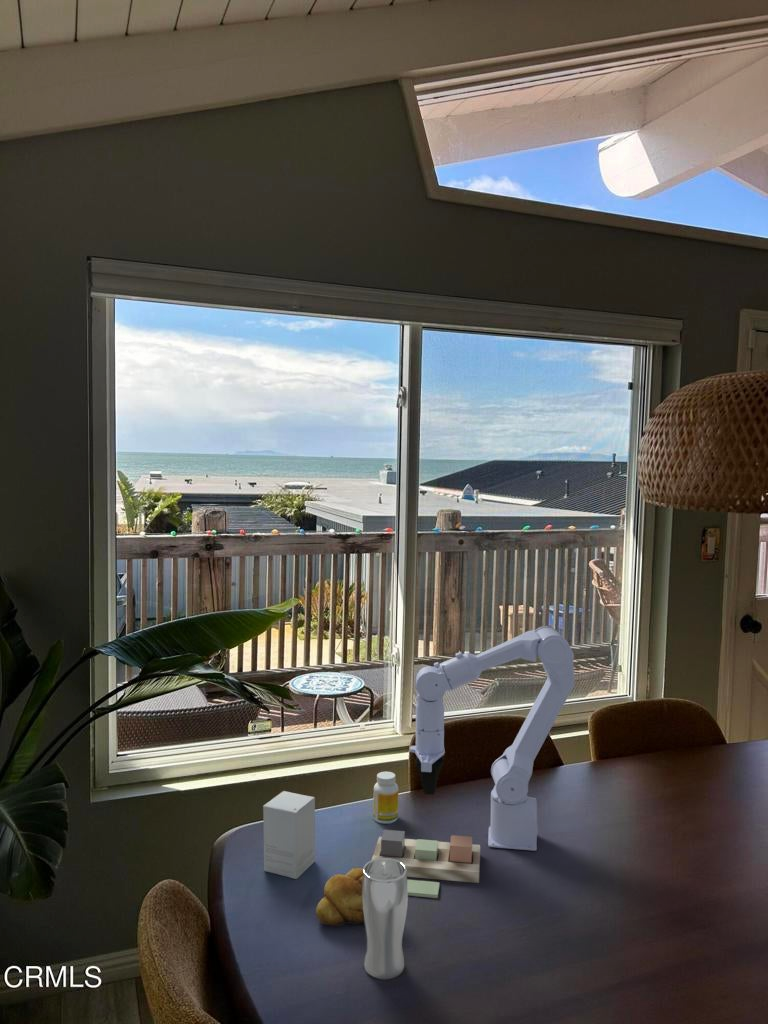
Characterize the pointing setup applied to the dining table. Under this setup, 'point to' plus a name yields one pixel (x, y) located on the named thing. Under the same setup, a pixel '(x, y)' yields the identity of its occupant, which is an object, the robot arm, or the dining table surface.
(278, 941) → the dining table surface
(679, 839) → the dining table surface
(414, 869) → the key console
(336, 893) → the bread roll
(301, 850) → the supplement box
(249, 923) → the dining table surface
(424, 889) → the tile
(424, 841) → the key sage
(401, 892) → the beer glass
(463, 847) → the key terracotta
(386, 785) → the supplement bottle
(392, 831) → the key charcoal
